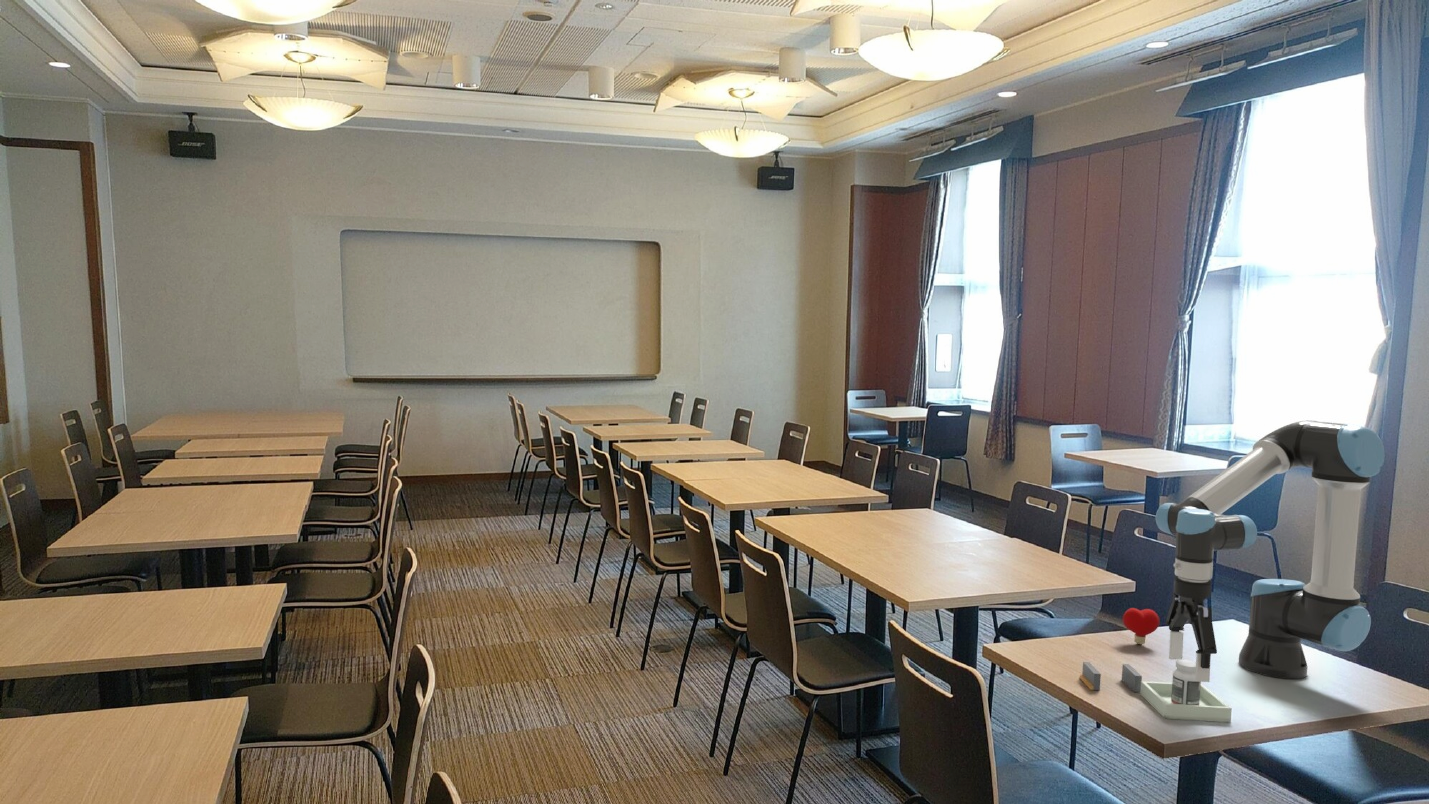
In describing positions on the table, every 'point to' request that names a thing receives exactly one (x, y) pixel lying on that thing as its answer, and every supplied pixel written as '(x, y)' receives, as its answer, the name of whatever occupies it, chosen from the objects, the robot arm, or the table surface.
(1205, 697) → the tray
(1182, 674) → the pill bottle
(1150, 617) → the red heart bulb
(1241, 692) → the table surface
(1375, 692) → the table surface
